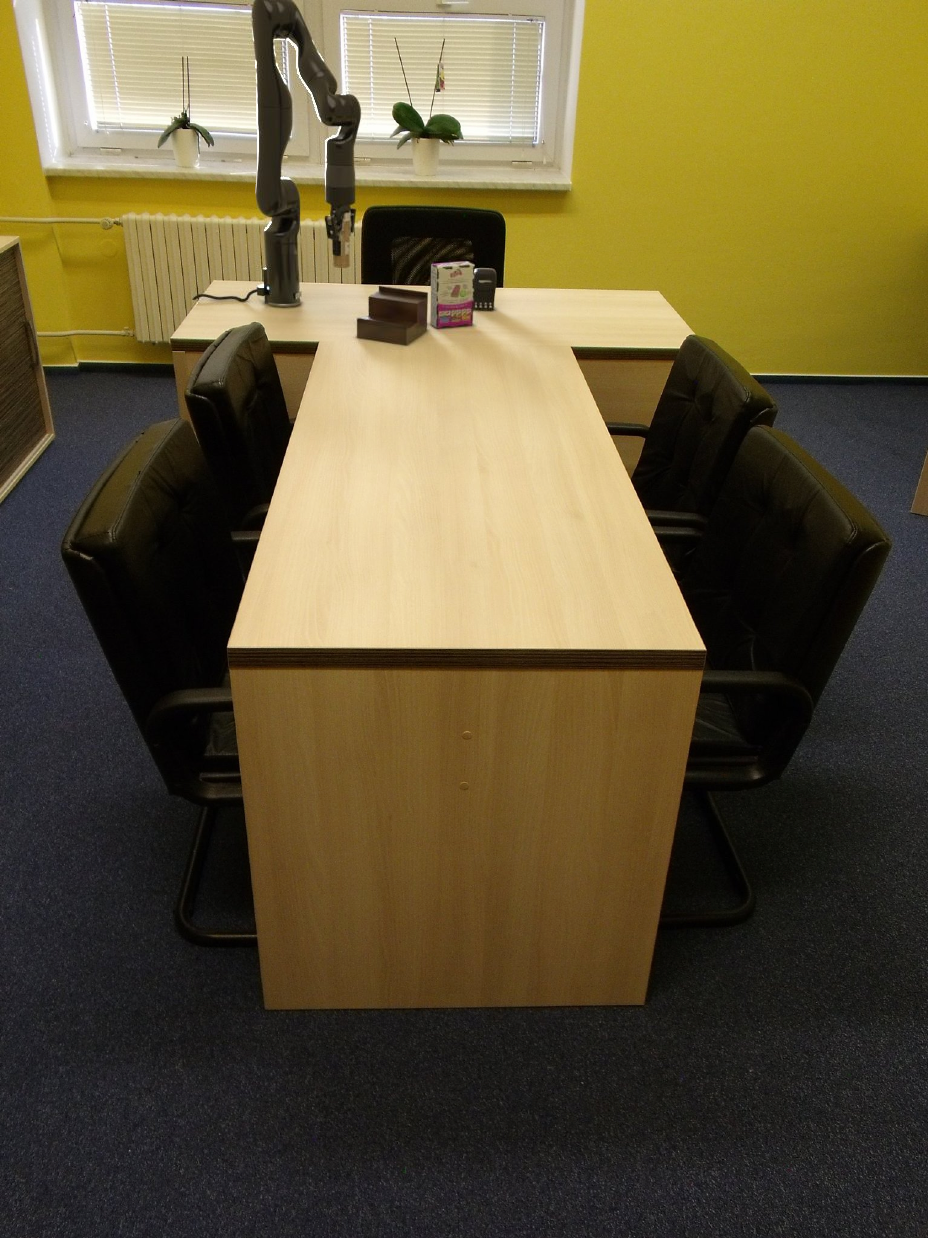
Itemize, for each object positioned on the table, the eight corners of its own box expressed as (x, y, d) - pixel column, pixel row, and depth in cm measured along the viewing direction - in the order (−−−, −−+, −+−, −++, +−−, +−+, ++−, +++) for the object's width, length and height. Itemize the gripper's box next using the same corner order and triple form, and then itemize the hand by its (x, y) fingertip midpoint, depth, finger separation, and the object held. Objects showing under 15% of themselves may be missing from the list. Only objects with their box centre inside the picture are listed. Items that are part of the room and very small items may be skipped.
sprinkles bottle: (353, 267, 265) (352, 213, 257) (337, 269, 262) (336, 214, 255) (344, 263, 268) (344, 209, 260) (329, 264, 265) (328, 210, 258)
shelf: (356, 337, 266) (356, 298, 260) (379, 323, 278) (379, 285, 272) (406, 345, 262) (406, 305, 257) (427, 330, 274) (428, 292, 269)
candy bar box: (465, 320, 284) (468, 260, 275) (473, 325, 280) (476, 264, 271) (428, 323, 279) (430, 262, 271) (436, 329, 276) (438, 267, 267)
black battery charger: (471, 311, 292) (473, 270, 286) (470, 307, 296) (472, 267, 289) (495, 311, 293) (497, 271, 287) (494, 308, 296) (496, 267, 290)
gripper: (339, 177, 261) (339, 246, 270) (313, 185, 249) (315, 257, 258) (365, 180, 259) (365, 249, 268) (341, 188, 247) (342, 260, 257)
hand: (341, 252), depth 263 cm, fingers closed on sprinkles bottle, 4 cm apart
